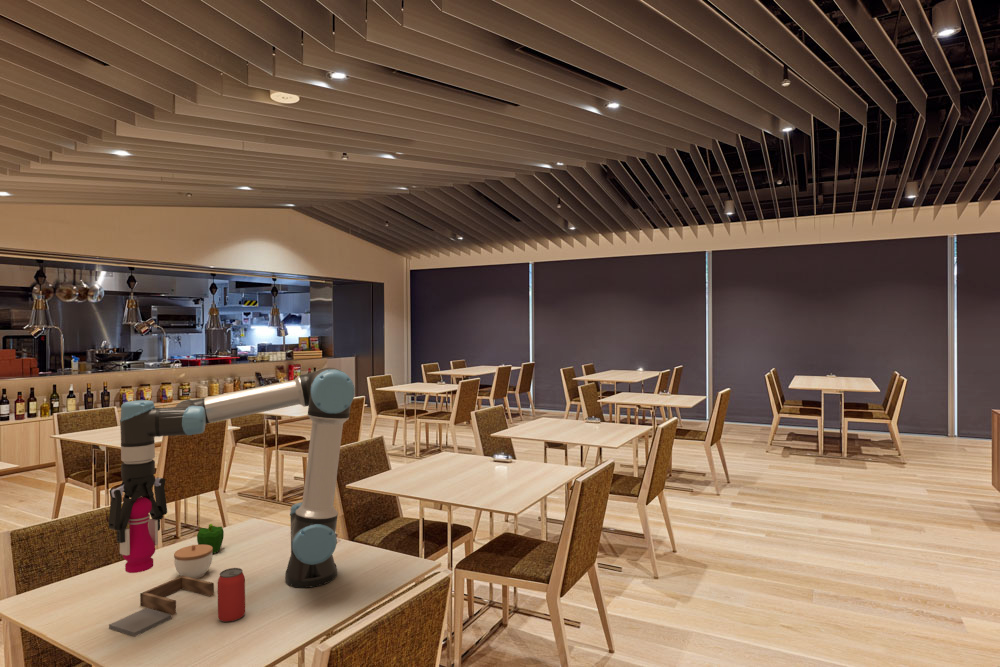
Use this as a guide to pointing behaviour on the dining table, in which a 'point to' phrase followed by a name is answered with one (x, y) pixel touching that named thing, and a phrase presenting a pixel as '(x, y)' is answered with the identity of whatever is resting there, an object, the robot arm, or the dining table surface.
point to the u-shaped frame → (157, 594)
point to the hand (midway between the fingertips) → (139, 548)
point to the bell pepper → (211, 537)
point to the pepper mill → (140, 538)
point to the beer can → (231, 595)
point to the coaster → (140, 621)
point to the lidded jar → (193, 560)
